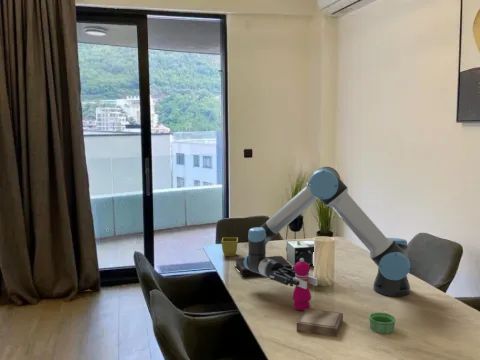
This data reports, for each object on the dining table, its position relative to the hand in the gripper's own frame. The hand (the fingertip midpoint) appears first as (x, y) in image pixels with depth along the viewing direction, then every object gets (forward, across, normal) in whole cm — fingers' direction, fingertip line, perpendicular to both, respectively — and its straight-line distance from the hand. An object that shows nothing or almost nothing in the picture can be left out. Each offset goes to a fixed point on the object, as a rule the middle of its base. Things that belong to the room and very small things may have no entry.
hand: (311, 283), depth 178 cm
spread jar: (-43, -45, -12) cm, 63 cm away
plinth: (+10, +6, -12) cm, 16 cm away
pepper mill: (-5, 0, -11) cm, 12 cm away
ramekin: (+25, -10, -12) cm, 30 cm away
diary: (-53, -19, -12) cm, 57 cm away
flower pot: (-84, -22, -12) cm, 87 cm away
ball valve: (-33, -26, -12) cm, 44 cm away
